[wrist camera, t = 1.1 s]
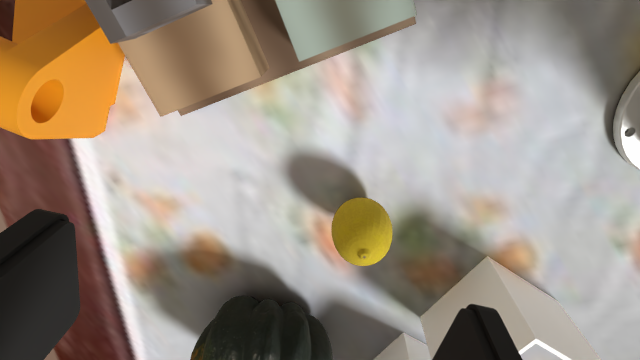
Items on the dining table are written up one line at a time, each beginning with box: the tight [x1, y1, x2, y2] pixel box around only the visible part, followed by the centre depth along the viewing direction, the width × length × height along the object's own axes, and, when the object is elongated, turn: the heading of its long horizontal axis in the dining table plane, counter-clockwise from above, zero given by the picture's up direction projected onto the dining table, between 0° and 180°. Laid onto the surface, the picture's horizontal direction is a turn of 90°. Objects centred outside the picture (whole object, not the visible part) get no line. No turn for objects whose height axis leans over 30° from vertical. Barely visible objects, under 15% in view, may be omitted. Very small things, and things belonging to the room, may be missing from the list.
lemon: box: [332, 198, 392, 266], centre depth 34 cm, size 6×6×8 cm
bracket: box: [0, 0, 125, 139], centre depth 27 cm, size 11×7×12 cm, turn 155°
